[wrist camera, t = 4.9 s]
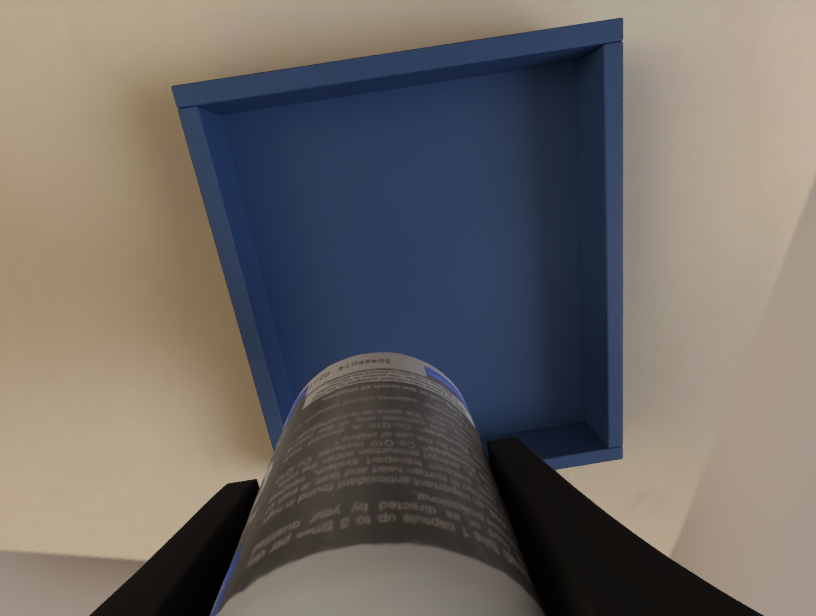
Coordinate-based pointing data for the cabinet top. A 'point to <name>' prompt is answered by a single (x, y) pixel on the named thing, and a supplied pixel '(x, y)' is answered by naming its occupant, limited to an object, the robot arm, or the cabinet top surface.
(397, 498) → the pill bottle
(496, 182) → the blue tray
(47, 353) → the cabinet top surface
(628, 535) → the robot arm
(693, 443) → the cabinet top surface
